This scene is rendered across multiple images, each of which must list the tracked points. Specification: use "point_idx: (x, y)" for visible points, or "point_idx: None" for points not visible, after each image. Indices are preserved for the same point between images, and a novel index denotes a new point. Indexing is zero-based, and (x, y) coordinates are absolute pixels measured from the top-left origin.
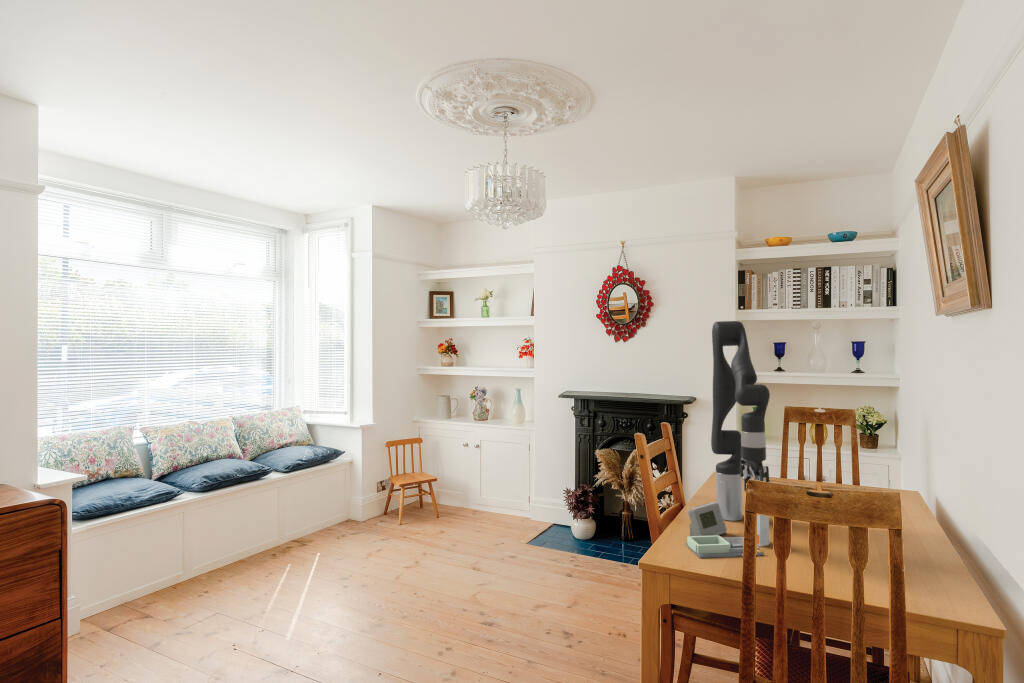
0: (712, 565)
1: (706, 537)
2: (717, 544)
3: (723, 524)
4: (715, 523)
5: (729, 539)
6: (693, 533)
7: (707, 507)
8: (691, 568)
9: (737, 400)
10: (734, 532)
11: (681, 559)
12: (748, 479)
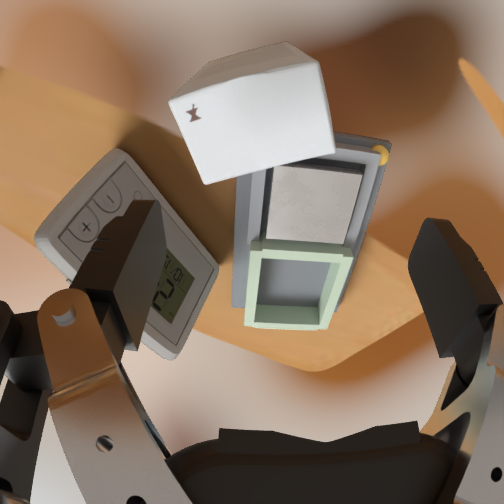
0: (386, 300)
1: (257, 285)
2: (337, 288)
3: (114, 177)
4: None
5: (295, 230)
6: None
7: None
8: (378, 334)
9: None
10: (106, 107)
11: (326, 335)
12: (113, 333)
